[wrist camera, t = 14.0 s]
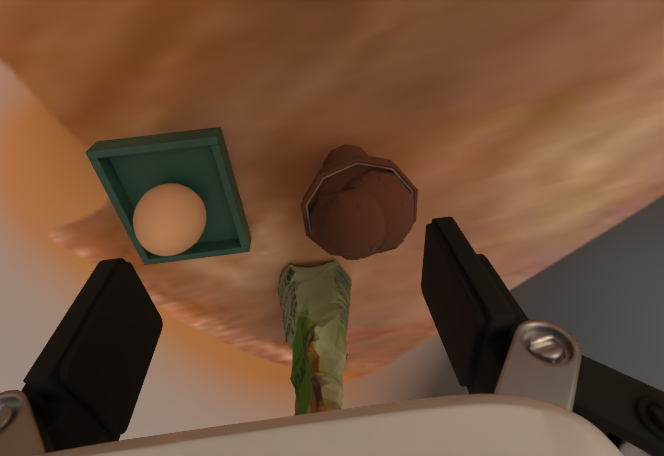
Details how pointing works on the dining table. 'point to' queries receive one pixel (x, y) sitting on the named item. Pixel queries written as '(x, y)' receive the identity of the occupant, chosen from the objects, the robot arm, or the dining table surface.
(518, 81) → the dining table surface
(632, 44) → the dining table surface
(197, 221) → the egg
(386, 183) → the ice cream bowl
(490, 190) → the dining table surface
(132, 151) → the tray
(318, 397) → the pouch
